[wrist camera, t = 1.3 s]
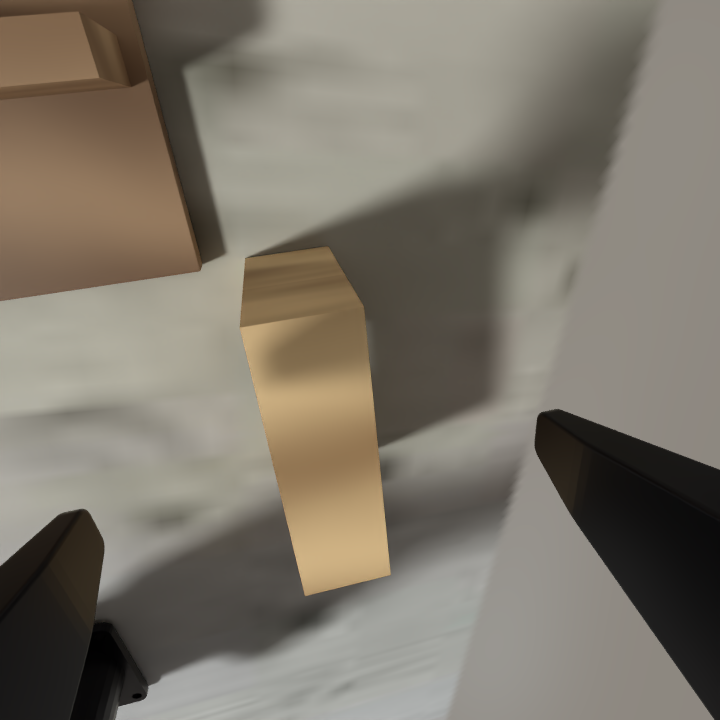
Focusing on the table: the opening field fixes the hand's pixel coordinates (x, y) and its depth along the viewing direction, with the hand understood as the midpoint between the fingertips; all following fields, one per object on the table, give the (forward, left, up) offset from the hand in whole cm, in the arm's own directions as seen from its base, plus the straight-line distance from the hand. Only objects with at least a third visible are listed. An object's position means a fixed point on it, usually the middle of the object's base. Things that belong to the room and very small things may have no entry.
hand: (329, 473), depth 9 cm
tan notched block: (-3, 0, -10) cm, 10 cm away
